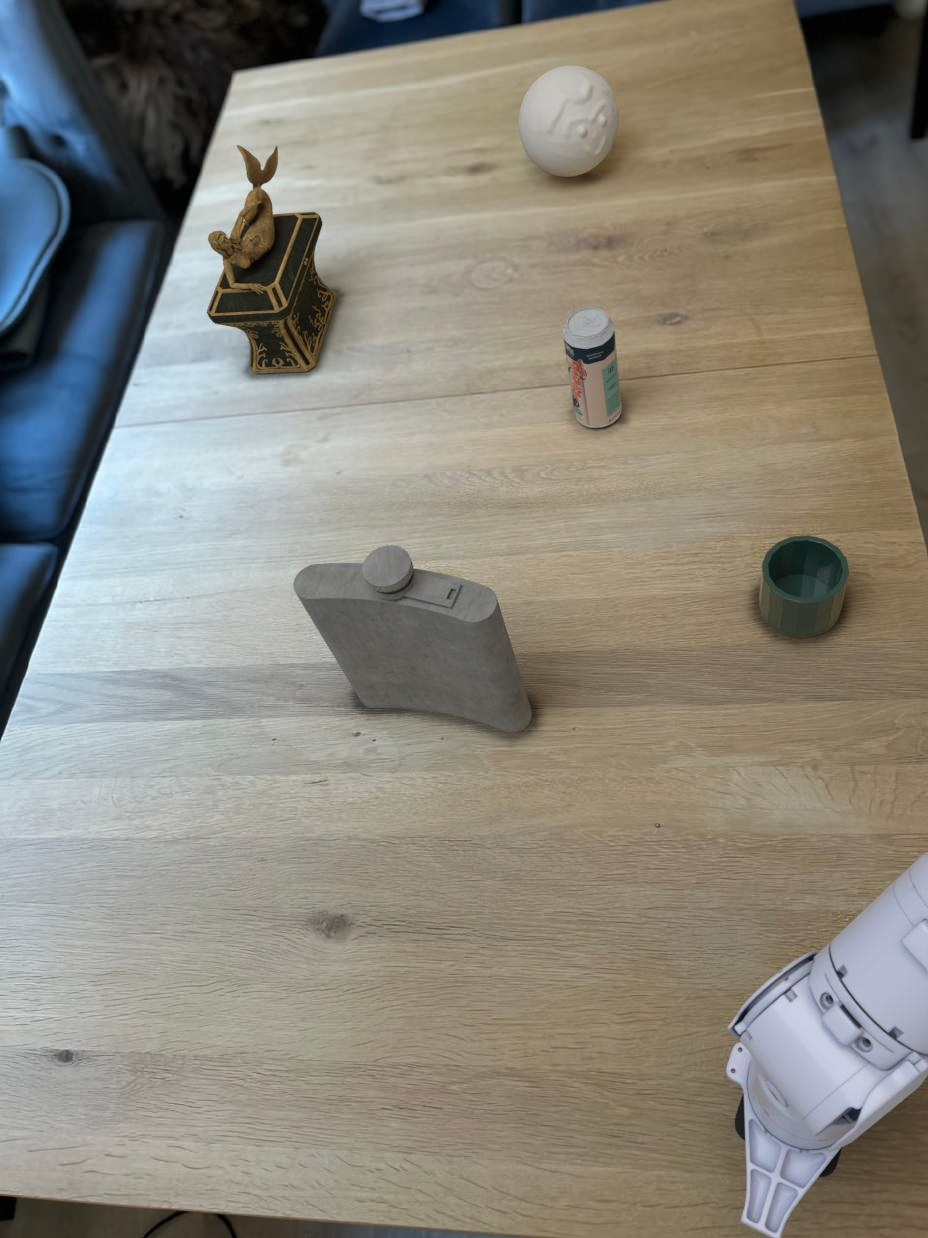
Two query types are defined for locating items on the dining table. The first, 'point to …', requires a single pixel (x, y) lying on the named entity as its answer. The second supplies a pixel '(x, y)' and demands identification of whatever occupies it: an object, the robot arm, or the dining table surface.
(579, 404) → the beer can
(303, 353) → the decorative box
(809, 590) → the pot
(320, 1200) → the dining table surface
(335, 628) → the hip flask
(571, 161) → the decorative ball
